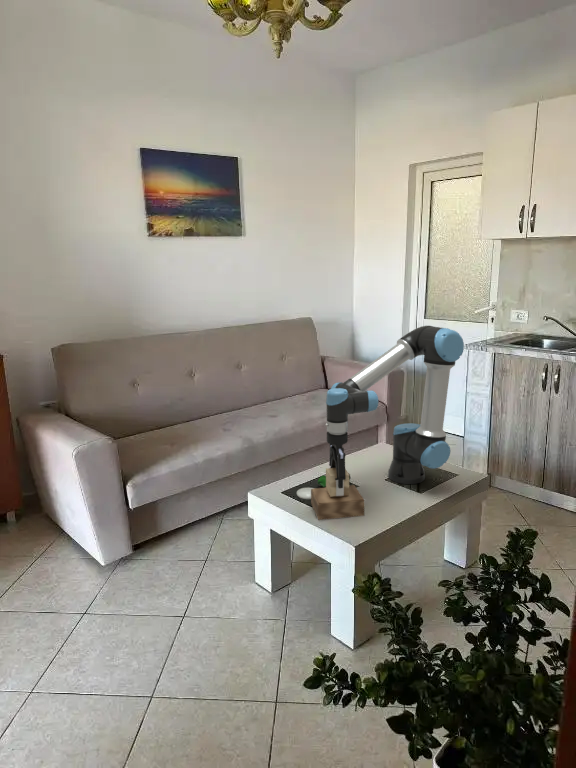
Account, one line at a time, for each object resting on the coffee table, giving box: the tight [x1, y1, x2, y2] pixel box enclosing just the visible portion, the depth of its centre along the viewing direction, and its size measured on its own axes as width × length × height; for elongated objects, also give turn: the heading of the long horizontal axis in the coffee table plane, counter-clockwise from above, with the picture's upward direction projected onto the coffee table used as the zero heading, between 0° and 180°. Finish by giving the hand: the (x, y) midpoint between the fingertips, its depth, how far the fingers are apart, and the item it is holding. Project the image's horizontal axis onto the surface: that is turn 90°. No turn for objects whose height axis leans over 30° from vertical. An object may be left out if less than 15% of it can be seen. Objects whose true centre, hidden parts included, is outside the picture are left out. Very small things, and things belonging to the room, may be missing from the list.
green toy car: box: [317, 473, 351, 488], centre depth 217 cm, size 7×16×5 cm, turn 130°
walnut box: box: [310, 484, 365, 521], centre depth 196 cm, size 17×13×6 cm
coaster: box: [296, 487, 315, 500], centre depth 210 cm, size 9×9×1 cm
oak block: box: [325, 467, 350, 497], centre depth 194 cm, size 7×7×8 cm
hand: (337, 490), depth 195 cm, fingers closed on oak block, 7 cm apart
